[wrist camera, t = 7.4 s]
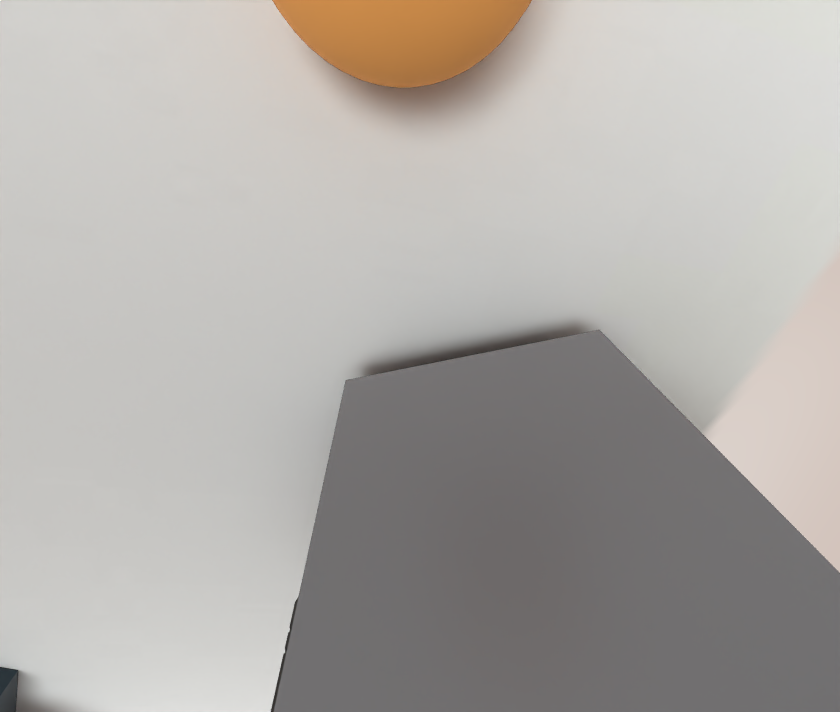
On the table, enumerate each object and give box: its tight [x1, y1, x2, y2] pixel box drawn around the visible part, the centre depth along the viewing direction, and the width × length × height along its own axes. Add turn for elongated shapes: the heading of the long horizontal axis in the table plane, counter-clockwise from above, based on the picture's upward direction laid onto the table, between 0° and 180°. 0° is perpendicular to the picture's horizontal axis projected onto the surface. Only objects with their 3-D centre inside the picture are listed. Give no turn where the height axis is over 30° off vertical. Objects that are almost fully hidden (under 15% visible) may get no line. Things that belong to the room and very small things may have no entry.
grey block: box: [274, 330, 840, 712], centre depth 10 cm, size 7×7×9 cm
